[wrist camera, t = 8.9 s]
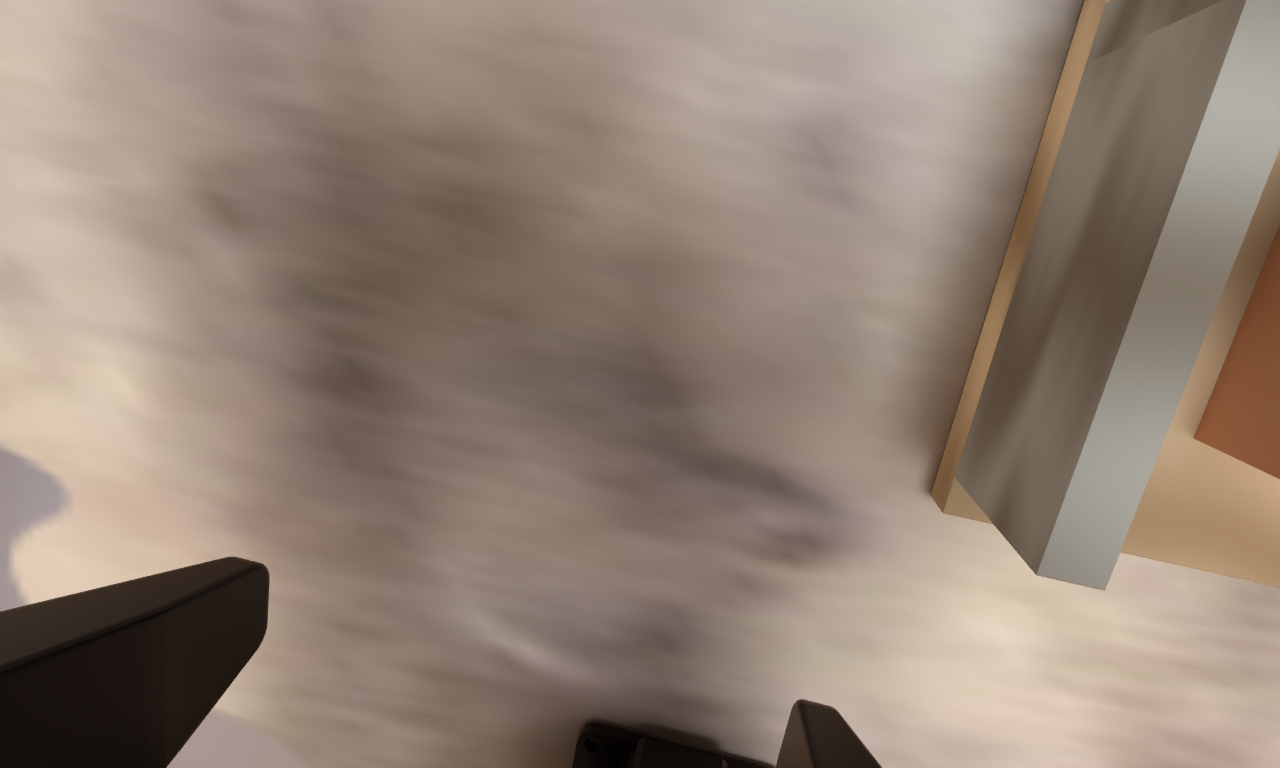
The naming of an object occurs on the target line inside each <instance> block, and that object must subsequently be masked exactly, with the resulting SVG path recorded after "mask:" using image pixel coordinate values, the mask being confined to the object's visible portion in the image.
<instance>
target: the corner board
mask: <svg viewBox="0 0 1280 768" xmlns="http://www.w3.org/2000/svg"><path fill="white" fill-rule="evenodd" d="M1279 225H1280V0H1084V3H1083V7H1082V10H1081V13H1080V16H1079V20H1078V23H1077V26H1076V29H1075V32H1074V36H1073V39H1072V42H1071V45H1070V49H1069V52H1068V55H1067V58H1066V61H1065V65H1064V68H1063V71H1062V74H1061V77H1060V81H1059V84H1058V87H1057V90H1056V94H1055V97H1054V100H1053V103H1052V106H1051V110H1050V113H1049V116H1048V119H1047V122H1046V126H1045V129H1044V132H1043V135H1042V139H1041V142H1040V145H1039V148H1038V151H1037V155H1036V158H1035V161H1034V164H1033V167H1032V171H1031V174H1030V177H1029V180H1028V184H1027V187H1026V190H1025V193H1024V196H1023V200H1022V203H1021V206H1020V209H1019V213H1018V216H1017V219H1016V222H1015V225H1014V229H1013V232H1012V235H1011V238H1010V241H1009V245H1008V248H1007V251H1006V254H1005V258H1004V261H1003V264H1002V267H1001V270H1000V274H999V277H998V280H997V283H996V286H995V290H994V293H993V296H992V299H991V303H990V306H989V309H988V312H987V315H986V319H985V322H984V325H983V328H982V331H981V335H980V338H979V341H978V344H977V348H976V351H975V354H974V357H973V360H972V364H971V367H970V370H969V373H968V377H967V380H966V383H965V386H964V389H963V393H962V396H961V399H960V402H959V405H958V409H957V412H956V415H955V418H954V422H953V425H952V428H951V431H950V434H949V438H948V441H947V444H946V447H945V450H944V454H943V457H942V460H941V463H940V467H939V470H938V473H937V476H936V479H935V483H934V486H933V489H932V492H931V497H932V498H933V499H934V501H935V502H936V504H937V505H938V507H939V508H940V509H941V511H942V512H943V513H945V514H949V515H954V516H958V517H963V518H968V519H972V520H977V521H981V522H986V523H990V524H994V525H995V526H996V528H997V529H998V530H999V531H1000V532H1001V534H1002V535H1003V536H1004V537H1005V538H1006V539H1007V541H1008V542H1009V543H1010V544H1011V545H1012V547H1013V548H1014V549H1015V550H1016V551H1017V553H1018V554H1019V555H1020V556H1021V557H1022V559H1023V560H1024V561H1025V562H1026V563H1027V565H1028V566H1029V567H1030V568H1031V569H1032V570H1033V572H1034V573H1035V574H1036V575H1038V576H1042V577H1047V578H1051V579H1056V580H1060V581H1064V582H1069V583H1073V584H1078V585H1082V586H1086V587H1091V588H1095V589H1100V590H1104V591H1105V589H1106V586H1107V584H1108V581H1109V579H1110V576H1111V573H1112V571H1113V568H1114V566H1115V563H1116V561H1117V558H1118V556H1119V553H1120V552H1121V553H1126V554H1130V555H1135V556H1139V557H1144V558H1148V559H1153V560H1157V561H1162V562H1166V563H1171V564H1175V565H1180V566H1184V567H1189V568H1194V569H1198V570H1203V571H1207V572H1212V573H1216V574H1221V575H1225V576H1230V577H1234V578H1239V579H1243V580H1248V581H1252V582H1257V583H1261V584H1266V585H1270V586H1275V587H1279V588H1280V479H1278V478H1276V477H1274V476H1271V475H1269V474H1267V473H1265V472H1263V471H1261V470H1259V469H1257V468H1255V467H1253V466H1250V465H1248V464H1246V463H1244V462H1242V461H1240V460H1238V459H1236V458H1234V457H1231V456H1229V455H1227V454H1225V453H1223V452H1221V451H1219V450H1217V449H1215V448H1213V447H1210V446H1208V445H1206V444H1204V443H1202V442H1200V441H1198V440H1196V439H1194V436H1195V433H1196V431H1197V428H1198V426H1199V423H1200V421H1201V418H1202V416H1203V413H1204V411H1205V408H1206V406H1207V403H1208V401H1209V398H1210V396H1211V394H1212V391H1213V389H1214V386H1215V384H1216V381H1217V379H1218V376H1219V374H1220V371H1221V369H1222V366H1223V364H1224V361H1225V359H1226V356H1227V354H1228V351H1229V349H1230V346H1231V344H1232V341H1233V339H1234V337H1235V334H1236V332H1237V329H1238V327H1239V324H1240V322H1241V319H1242V317H1243V314H1244V312H1245V309H1246V307H1247V304H1248V302H1249V299H1250V297H1251V294H1252V292H1253V289H1254V287H1255V284H1256V282H1257V280H1258V277H1259V275H1260V272H1261V270H1262V267H1263V265H1264V262H1265V260H1266V257H1267V255H1268V252H1269V250H1270V247H1271V245H1272V242H1273V240H1274V237H1275V235H1276V232H1277V230H1278V227H1279Z"/></svg>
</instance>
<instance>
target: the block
mask: <svg viewBox="0 0 1280 768" xmlns="http://www.w3.org/2000/svg"><path fill="white" fill-rule="evenodd" d="M1194 439H1196V440H1198V441H1200V442H1202V443H1204V444H1206V445H1208V446H1210V447H1213V448H1215V449H1217V450H1219V451H1221V452H1223V453H1225V454H1227V455H1229V456H1231V457H1234V458H1236V459H1238V460H1240V461H1242V462H1244V463H1246V464H1248V465H1250V466H1253V467H1255V468H1257V469H1259V470H1261V471H1263V472H1265V473H1267V474H1269V475H1271V476H1274V477H1276V478H1278V479H1280V225H1279V227H1278V230H1277V232H1276V235H1275V237H1274V240H1273V242H1272V245H1271V247H1270V250H1269V252H1268V255H1267V257H1266V260H1265V262H1264V265H1263V267H1262V270H1261V272H1260V275H1259V277H1258V280H1257V282H1256V284H1255V287H1254V289H1253V292H1252V294H1251V297H1250V299H1249V302H1248V304H1247V307H1246V309H1245V312H1244V314H1243V317H1242V319H1241V322H1240V324H1239V327H1238V329H1237V332H1236V334H1235V337H1234V339H1233V341H1232V344H1231V346H1230V349H1229V351H1228V354H1227V356H1226V359H1225V361H1224V364H1223V366H1222V369H1221V371H1220V374H1219V376H1218V379H1217V381H1216V384H1215V386H1214V389H1213V391H1212V394H1211V396H1210V398H1209V401H1208V403H1207V406H1206V408H1205V411H1204V413H1203V416H1202V418H1201V421H1200V423H1199V426H1198V428H1197V431H1196V433H1195V436H1194Z"/></svg>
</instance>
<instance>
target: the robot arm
mask: <svg viewBox="0 0 1280 768" xmlns="http://www.w3.org/2000/svg"><path fill="white" fill-rule="evenodd" d="M268 600H269V572H268V569H267V567H266V566H265V565H263V564H262V563H258V562H254V561H250V560H246V559H242V558H238V557H226V558H222V559H217V560H213V561H209V562H205V563H201V564H197V565H192V566H188V567H184V568H180V569H176V570H172V571H167V572H163V573H159V574H155V575H151V576H147V577H142V578H138V579H134V580H130V581H126V582H122V583H117V584H113V585H109V586H105V587H101V588H97V589H92V590H88V591H84V592H80V593H76V594H72V595H67V596H63V597H59V598H55V599H51V600H47V601H42V602H38V603H34V604H30V605H26V606H22V607H17V608H13V609H9V610H5V611H1V612H0V768H166V767H167V766H168V765H169V763H170V762H171V761H172V760H173V758H174V757H175V756H176V755H177V753H178V752H179V751H180V750H181V749H182V747H183V746H184V745H185V743H186V742H187V741H188V740H189V738H190V737H191V736H192V734H193V733H194V732H195V730H196V729H197V728H198V726H199V725H200V724H201V722H202V721H203V720H204V719H205V717H206V716H207V715H208V713H209V712H210V711H211V709H212V708H213V707H214V706H215V704H216V703H217V702H218V700H219V699H220V698H221V696H222V695H223V694H224V692H225V691H226V690H227V688H228V687H229V686H230V685H231V683H232V682H233V681H234V679H235V678H236V677H237V675H238V674H239V673H240V671H241V670H242V669H243V668H244V666H245V665H246V664H247V662H248V661H249V660H250V658H251V657H252V656H253V654H254V653H255V652H256V651H257V649H258V648H259V646H260V644H261V642H262V641H263V638H264V636H265V633H266V629H267V621H268ZM589 738H594V739H596V740H598V741H599V743H594V742H592V741H590V740H589ZM572 768H767V767H763V766H759V765H755V764H751V763H748V762H744V761H740V760H736V759H732V758H729V757H725V756H721V755H717V754H713V753H710V752H706V751H702V750H698V749H694V748H691V747H687V746H683V745H679V744H675V743H672V742H668V741H664V740H660V739H656V738H653V737H649V736H645V735H641V734H637V733H634V732H630V731H626V730H622V729H618V728H615V727H611V726H607V725H603V724H599V723H588V724H586V725H584V726H583V727H582V729H581V731H580V734H579V737H578V740H577V745H576V750H575V756H574V761H573V766H572ZM776 768H882V767H881V766H880V764H879V763H878V762H877V760H876V759H875V758H874V757H873V755H872V754H871V753H870V752H869V750H868V749H867V748H866V746H865V745H864V744H863V743H862V741H861V740H860V739H859V738H858V736H857V735H856V734H855V732H854V731H853V730H852V729H851V727H850V726H849V725H848V724H847V722H846V721H845V720H844V718H843V717H842V716H841V715H840V713H839V712H838V711H837V710H836V709H835V708H833V707H831V706H827V705H823V704H819V703H815V702H811V701H807V700H803V699H800V700H797V701H796V702H795V704H794V705H793V707H792V710H791V713H790V717H789V721H788V724H787V728H786V731H785V735H784V739H783V742H782V746H781V749H780V753H779V756H778V760H777V765H776Z"/></svg>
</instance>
